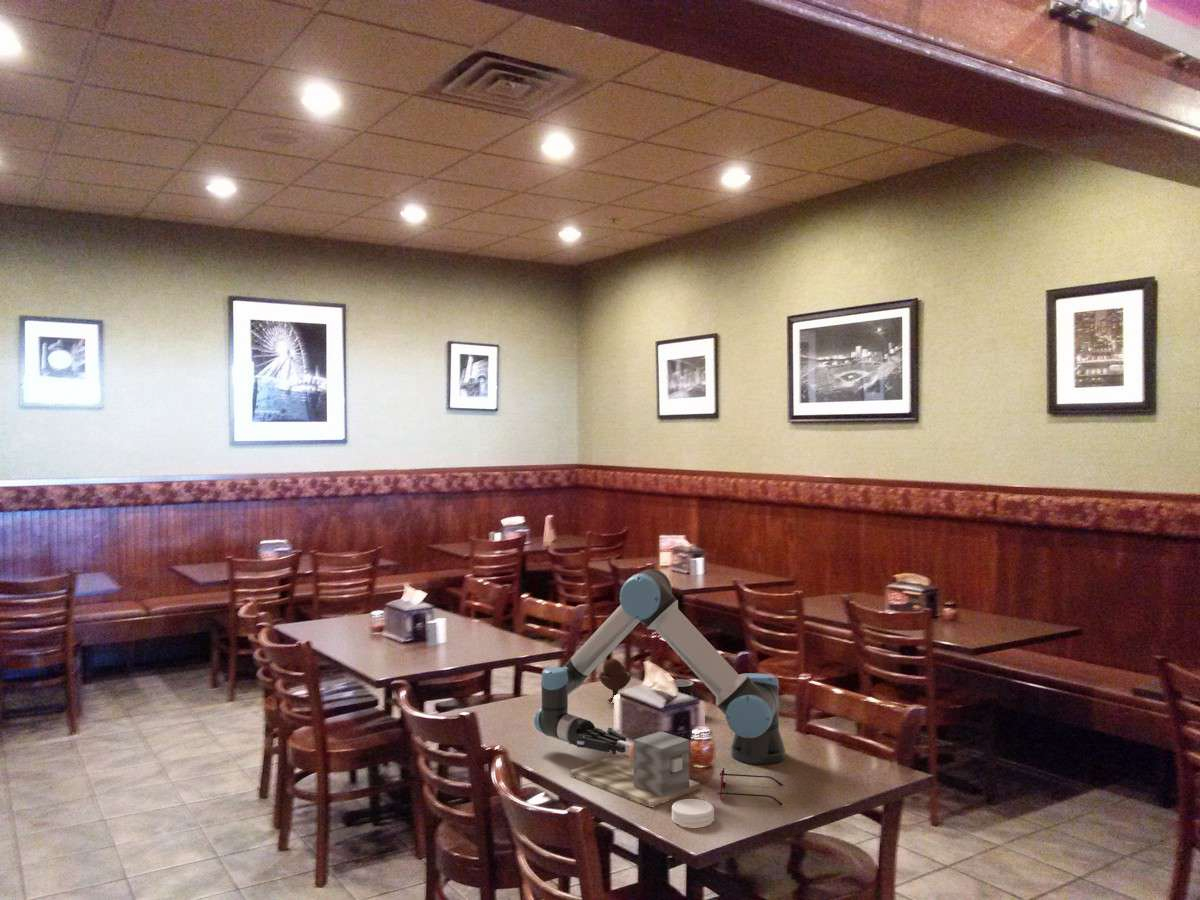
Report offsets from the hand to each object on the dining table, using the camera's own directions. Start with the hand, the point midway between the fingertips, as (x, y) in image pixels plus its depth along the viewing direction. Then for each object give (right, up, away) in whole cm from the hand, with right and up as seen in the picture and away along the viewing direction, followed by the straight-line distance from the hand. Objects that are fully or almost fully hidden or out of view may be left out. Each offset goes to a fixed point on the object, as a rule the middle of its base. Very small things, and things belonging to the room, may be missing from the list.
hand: (636, 751), depth 240 cm
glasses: (+29, -9, -7) cm, 31 cm away
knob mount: (0, -8, +1) cm, 8 cm away
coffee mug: (+18, -8, +63) cm, 66 cm away
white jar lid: (+13, -9, -23) cm, 28 cm away
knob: (+5, -3, -5) cm, 8 cm away
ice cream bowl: (-4, -8, +76) cm, 76 cm away
